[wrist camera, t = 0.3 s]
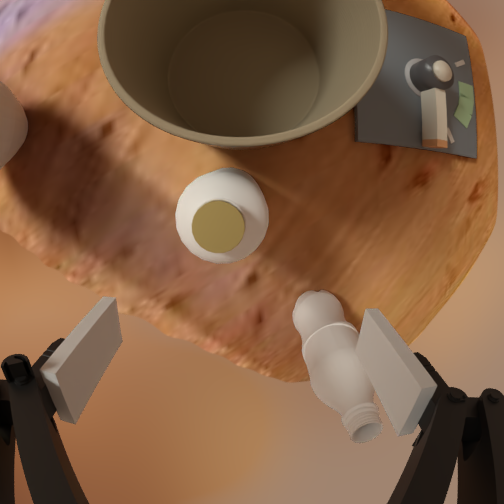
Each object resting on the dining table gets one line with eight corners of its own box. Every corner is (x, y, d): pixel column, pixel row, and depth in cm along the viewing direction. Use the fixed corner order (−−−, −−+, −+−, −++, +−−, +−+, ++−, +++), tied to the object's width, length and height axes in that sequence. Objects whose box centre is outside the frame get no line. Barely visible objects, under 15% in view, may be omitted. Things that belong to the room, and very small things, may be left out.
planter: (163, 159, 39) (95, 162, 20) (162, 15, 32) (113, -61, 13) (329, 152, 39) (400, 149, 20) (318, 9, 33) (363, -71, 13)
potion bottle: (265, 171, 40) (280, 179, 22) (256, 232, 42) (264, 284, 25) (202, 164, 39) (169, 167, 22) (195, 225, 41) (162, 272, 24)
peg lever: (408, 59, 33) (426, 49, 28) (435, 66, 33) (455, 59, 28) (412, 145, 37) (433, 144, 32) (439, 149, 37) (461, 149, 32)
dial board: (346, 4, 32) (348, 0, 31) (462, 38, 32) (466, 36, 31) (354, 141, 38) (358, 141, 37) (472, 158, 39) (477, 158, 37)
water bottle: (298, 279, 44) (349, 402, 20) (343, 289, 45) (419, 404, 21) (283, 321, 46) (313, 456, 22) (326, 329, 47) (380, 455, 23)
